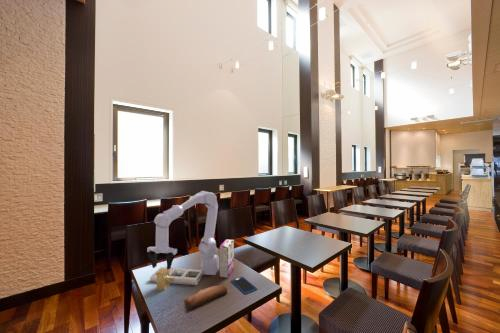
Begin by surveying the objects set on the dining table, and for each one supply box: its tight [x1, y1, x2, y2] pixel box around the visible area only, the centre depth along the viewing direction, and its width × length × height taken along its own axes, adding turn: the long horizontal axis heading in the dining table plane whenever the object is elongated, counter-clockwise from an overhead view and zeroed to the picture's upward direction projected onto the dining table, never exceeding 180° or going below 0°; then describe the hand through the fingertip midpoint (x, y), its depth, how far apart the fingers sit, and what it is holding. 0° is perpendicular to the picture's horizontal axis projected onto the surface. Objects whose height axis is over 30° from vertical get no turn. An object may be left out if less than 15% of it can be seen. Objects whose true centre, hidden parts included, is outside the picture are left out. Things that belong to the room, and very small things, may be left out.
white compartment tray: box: [149, 266, 204, 286], centre depth 110 cm, size 24×10×2 cm, turn 83°
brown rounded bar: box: [183, 285, 228, 311], centre depth 94 cm, size 18×7×7 cm
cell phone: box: [230, 276, 258, 295], centre depth 104 cm, size 7×14×1 cm, turn 34°
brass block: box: [156, 268, 170, 291], centre depth 102 cm, size 4×4×8 cm
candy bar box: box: [219, 239, 235, 279], centre depth 116 cm, size 11×5×16 cm, turn 168°
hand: (161, 267), depth 102 cm, fingers open, 7 cm apart
